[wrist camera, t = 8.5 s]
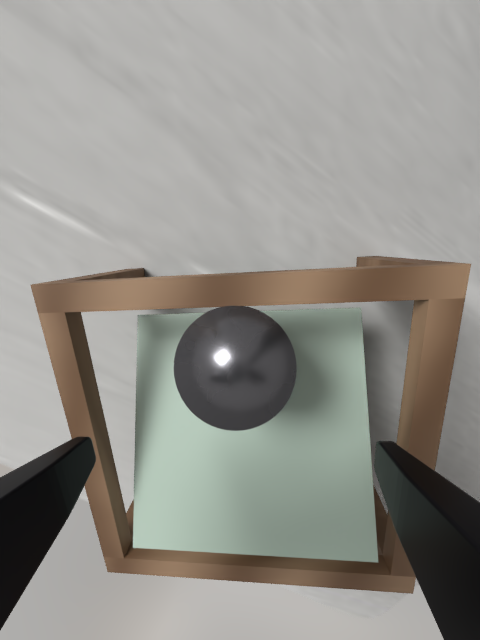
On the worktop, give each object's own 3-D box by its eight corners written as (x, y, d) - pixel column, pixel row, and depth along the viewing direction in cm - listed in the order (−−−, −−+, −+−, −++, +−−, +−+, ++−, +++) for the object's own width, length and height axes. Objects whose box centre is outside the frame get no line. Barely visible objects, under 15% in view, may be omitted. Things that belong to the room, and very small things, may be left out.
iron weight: (284, 315, 16) (294, 303, 10) (287, 399, 16) (299, 431, 10) (204, 318, 16) (173, 307, 11) (205, 399, 16) (173, 430, 11)
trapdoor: (355, 309, 17) (361, 307, 16) (371, 548, 15) (378, 562, 14) (144, 316, 18) (137, 314, 17) (140, 535, 17) (132, 547, 16)
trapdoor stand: (376, 256, 18) (471, 263, 10) (359, 468, 23) (412, 593, 15) (127, 269, 20) (30, 284, 12) (159, 463, 24) (107, 571, 16)
